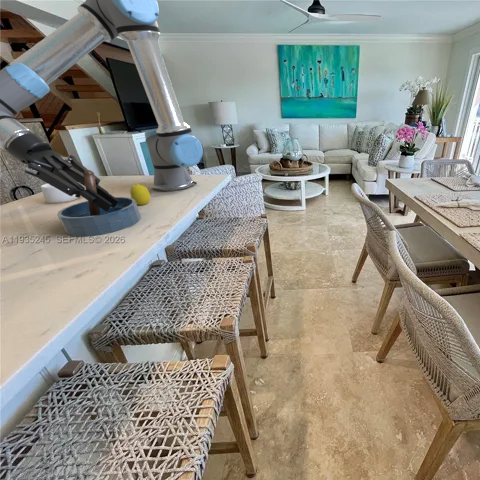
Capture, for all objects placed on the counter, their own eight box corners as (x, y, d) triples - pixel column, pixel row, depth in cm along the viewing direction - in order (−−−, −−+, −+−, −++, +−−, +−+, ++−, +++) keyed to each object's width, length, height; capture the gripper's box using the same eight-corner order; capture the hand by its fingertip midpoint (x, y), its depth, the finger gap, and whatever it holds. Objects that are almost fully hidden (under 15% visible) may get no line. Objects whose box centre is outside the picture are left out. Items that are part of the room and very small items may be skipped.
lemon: (150, 202, 96) (143, 180, 93) (155, 206, 93) (148, 183, 89) (133, 206, 93) (125, 183, 89) (137, 210, 89) (129, 186, 86)
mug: (40, 205, 94) (32, 188, 91) (54, 197, 102) (46, 182, 99) (81, 201, 97) (74, 185, 94) (91, 194, 105) (85, 179, 103)
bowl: (138, 210, 89) (132, 193, 86) (145, 228, 76) (138, 208, 73) (69, 223, 79) (60, 204, 76) (64, 245, 67) (53, 223, 64)
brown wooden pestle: (109, 218, 80) (102, 167, 73) (110, 226, 76) (103, 174, 69) (82, 219, 76) (73, 166, 69) (82, 228, 72) (72, 172, 65)
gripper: (44, 149, 74) (124, 205, 82) (-18, 159, 60) (85, 225, 68) (54, 129, 72) (135, 188, 79) (-7, 134, 58) (98, 206, 66)
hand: (112, 205), depth 74 cm, fingers closed on brown wooden pestle, 2 cm apart
